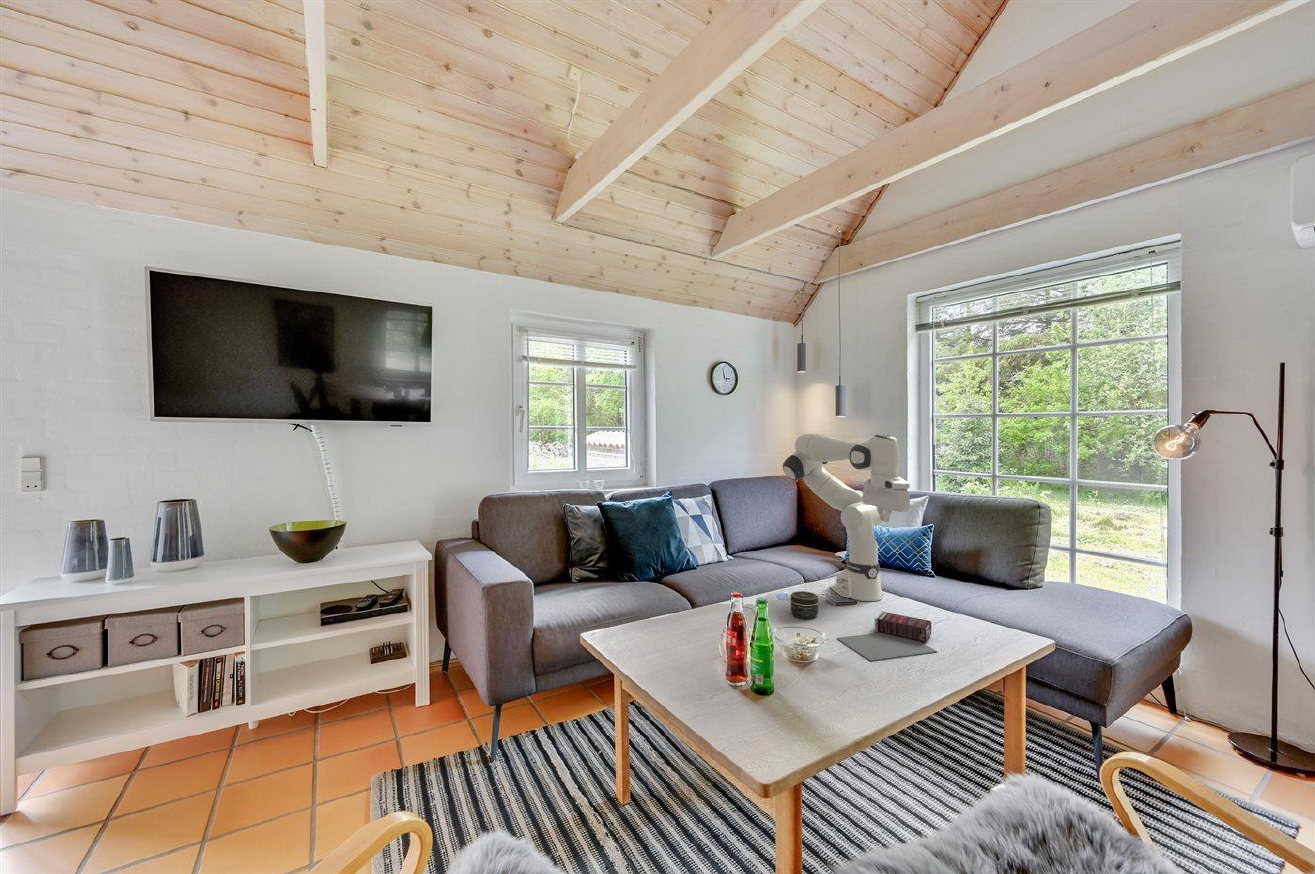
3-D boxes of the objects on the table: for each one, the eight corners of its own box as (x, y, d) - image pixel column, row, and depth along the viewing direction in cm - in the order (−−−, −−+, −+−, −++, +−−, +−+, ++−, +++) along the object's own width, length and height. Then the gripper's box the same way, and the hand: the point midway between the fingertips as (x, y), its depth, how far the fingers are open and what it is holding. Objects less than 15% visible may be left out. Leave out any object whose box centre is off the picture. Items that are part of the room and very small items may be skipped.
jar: (821, 620, 189) (821, 599, 188) (794, 620, 189) (794, 599, 189) (813, 610, 199) (813, 590, 198) (787, 610, 199) (787, 590, 199)
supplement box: (874, 632, 177) (926, 643, 168) (874, 618, 177) (925, 628, 167) (881, 624, 184) (931, 634, 174) (881, 610, 184) (931, 620, 174)
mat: (836, 638, 172) (837, 637, 172) (898, 631, 178) (898, 630, 178) (870, 661, 156) (870, 660, 156) (937, 652, 162) (937, 650, 162)
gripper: (857, 478, 191) (857, 516, 191) (897, 484, 171) (897, 526, 171) (872, 478, 192) (872, 515, 193) (913, 484, 173) (913, 525, 173)
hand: (884, 520), depth 182 cm, fingers closed
